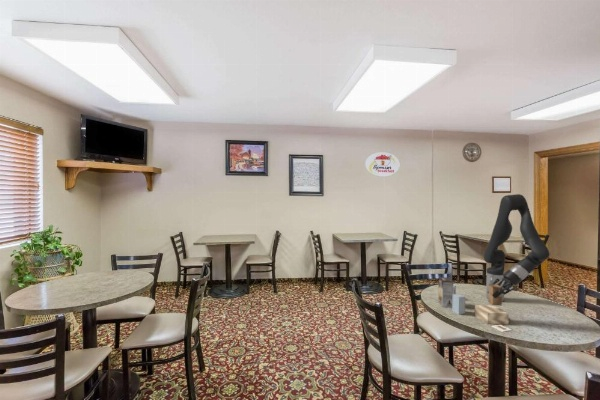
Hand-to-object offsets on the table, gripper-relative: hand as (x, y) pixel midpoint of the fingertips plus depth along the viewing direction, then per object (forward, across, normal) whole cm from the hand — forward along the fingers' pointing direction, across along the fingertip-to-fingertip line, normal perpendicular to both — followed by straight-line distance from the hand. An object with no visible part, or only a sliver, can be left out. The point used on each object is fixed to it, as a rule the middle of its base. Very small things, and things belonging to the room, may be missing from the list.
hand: (491, 295), depth 154 cm
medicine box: (+17, -33, +2) cm, 37 cm away
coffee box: (+22, -19, -3) cm, 29 cm away
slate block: (+19, -7, 0) cm, 21 cm away
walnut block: (+2, 0, +5) cm, 5 cm away
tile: (+10, +11, +9) cm, 17 cm away
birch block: (+10, 0, +10) cm, 14 cm away
